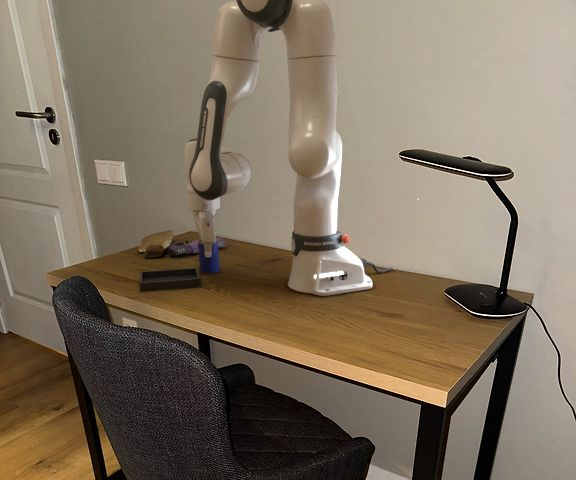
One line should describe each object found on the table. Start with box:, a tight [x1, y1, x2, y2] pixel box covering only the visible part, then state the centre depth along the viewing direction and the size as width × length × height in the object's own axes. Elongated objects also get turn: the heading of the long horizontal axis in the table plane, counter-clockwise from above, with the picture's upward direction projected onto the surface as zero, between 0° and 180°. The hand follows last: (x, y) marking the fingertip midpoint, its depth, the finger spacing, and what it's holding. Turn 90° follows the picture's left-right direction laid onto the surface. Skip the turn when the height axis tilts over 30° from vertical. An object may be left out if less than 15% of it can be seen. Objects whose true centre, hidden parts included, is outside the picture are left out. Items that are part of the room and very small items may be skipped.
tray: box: [139, 267, 202, 292], centre depth 155 cm, size 16×10×2 cm, turn 103°
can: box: [197, 238, 221, 275], centre depth 163 cm, size 6×6×9 cm
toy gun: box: [166, 236, 226, 257], centre depth 184 cm, size 4×20×10 cm
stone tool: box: [137, 229, 175, 259], centre depth 187 cm, size 12×4×25 cm
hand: (206, 252), depth 162 cm, fingers open, 8 cm apart
